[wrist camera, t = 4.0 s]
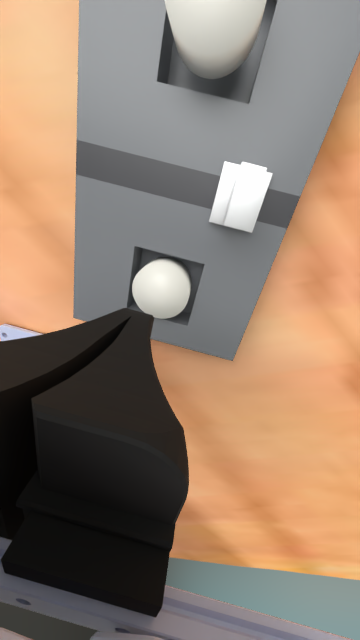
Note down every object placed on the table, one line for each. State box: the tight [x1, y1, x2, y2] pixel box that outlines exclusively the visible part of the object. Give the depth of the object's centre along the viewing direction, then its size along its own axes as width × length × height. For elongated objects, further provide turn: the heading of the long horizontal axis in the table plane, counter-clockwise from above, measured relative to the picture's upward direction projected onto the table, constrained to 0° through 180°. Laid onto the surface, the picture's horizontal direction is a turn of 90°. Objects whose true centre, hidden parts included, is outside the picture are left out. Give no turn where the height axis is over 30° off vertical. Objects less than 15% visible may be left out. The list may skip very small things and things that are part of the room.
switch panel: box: [73, 0, 360, 361], centre depth 14 cm, size 20×12×2 cm, turn 167°
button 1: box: [132, 257, 192, 319], centre depth 16 cm, size 4×4×2 cm
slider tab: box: [209, 162, 273, 233], centre depth 11 cm, size 3×2×3 cm
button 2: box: [165, 0, 267, 79], centre depth 9 cm, size 4×4×2 cm
